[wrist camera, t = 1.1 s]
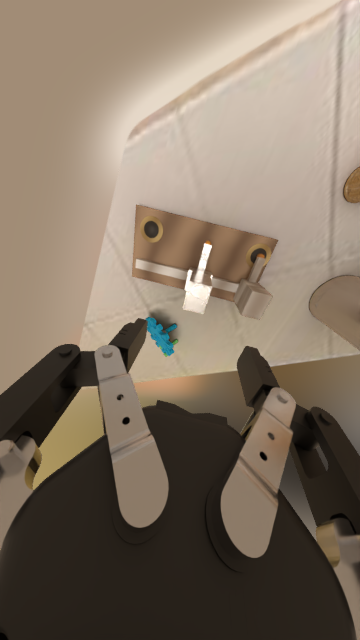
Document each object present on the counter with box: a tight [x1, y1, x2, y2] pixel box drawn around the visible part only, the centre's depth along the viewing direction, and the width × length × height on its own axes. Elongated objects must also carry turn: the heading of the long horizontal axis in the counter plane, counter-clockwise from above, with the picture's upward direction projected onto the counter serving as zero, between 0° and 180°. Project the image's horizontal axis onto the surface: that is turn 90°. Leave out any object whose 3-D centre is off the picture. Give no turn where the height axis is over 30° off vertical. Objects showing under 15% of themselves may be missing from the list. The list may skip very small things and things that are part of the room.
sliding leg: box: [182, 241, 213, 314], centre depth 24 cm, size 4×8×10 cm, turn 168°
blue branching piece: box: [146, 317, 178, 357], centre depth 37 cm, size 11×6×10 cm
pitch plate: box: [132, 205, 278, 320], centre depth 26 cm, size 24×12×10 cm, turn 78°
